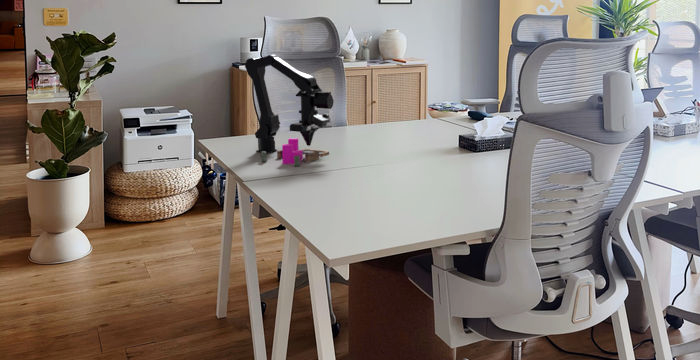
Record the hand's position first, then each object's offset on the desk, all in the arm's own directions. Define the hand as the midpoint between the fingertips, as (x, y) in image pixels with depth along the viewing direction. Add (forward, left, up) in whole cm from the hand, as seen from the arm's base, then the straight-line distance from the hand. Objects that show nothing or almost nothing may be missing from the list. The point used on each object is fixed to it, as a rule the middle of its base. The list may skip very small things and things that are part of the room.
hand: (308, 145), depth 300 cm
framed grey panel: (0, -8, -4) cm, 9 cm away
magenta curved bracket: (0, -10, -4) cm, 11 cm away
